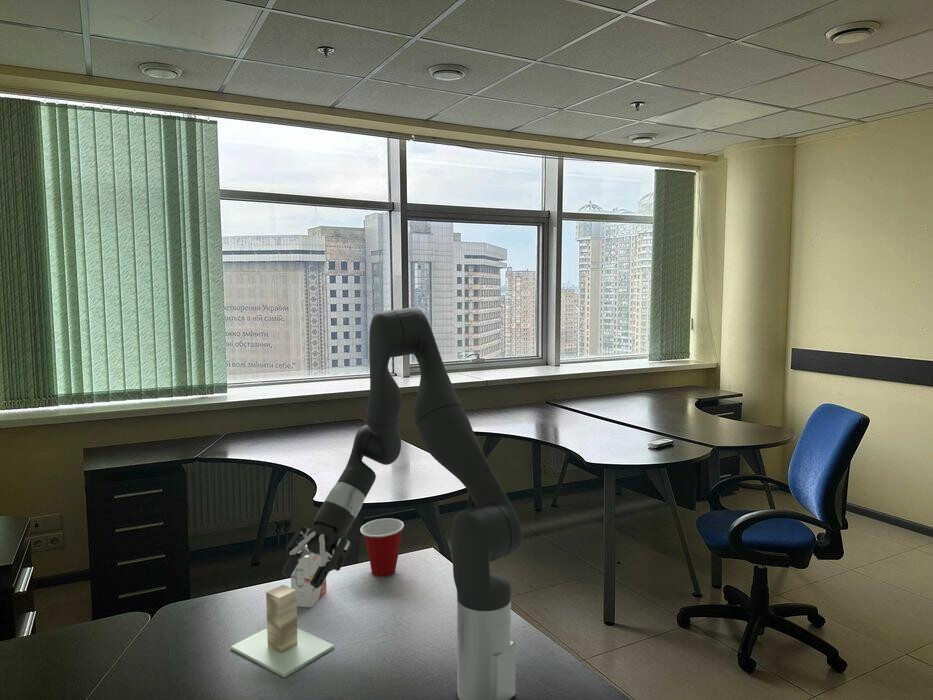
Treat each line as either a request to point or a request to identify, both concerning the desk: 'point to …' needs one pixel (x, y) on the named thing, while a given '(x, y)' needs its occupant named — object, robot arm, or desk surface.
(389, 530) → the plastic cup
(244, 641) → the sage mat
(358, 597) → the desk surface
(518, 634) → the desk surface
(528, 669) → the desk surface
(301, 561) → the ink cartridge box
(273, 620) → the birch block
